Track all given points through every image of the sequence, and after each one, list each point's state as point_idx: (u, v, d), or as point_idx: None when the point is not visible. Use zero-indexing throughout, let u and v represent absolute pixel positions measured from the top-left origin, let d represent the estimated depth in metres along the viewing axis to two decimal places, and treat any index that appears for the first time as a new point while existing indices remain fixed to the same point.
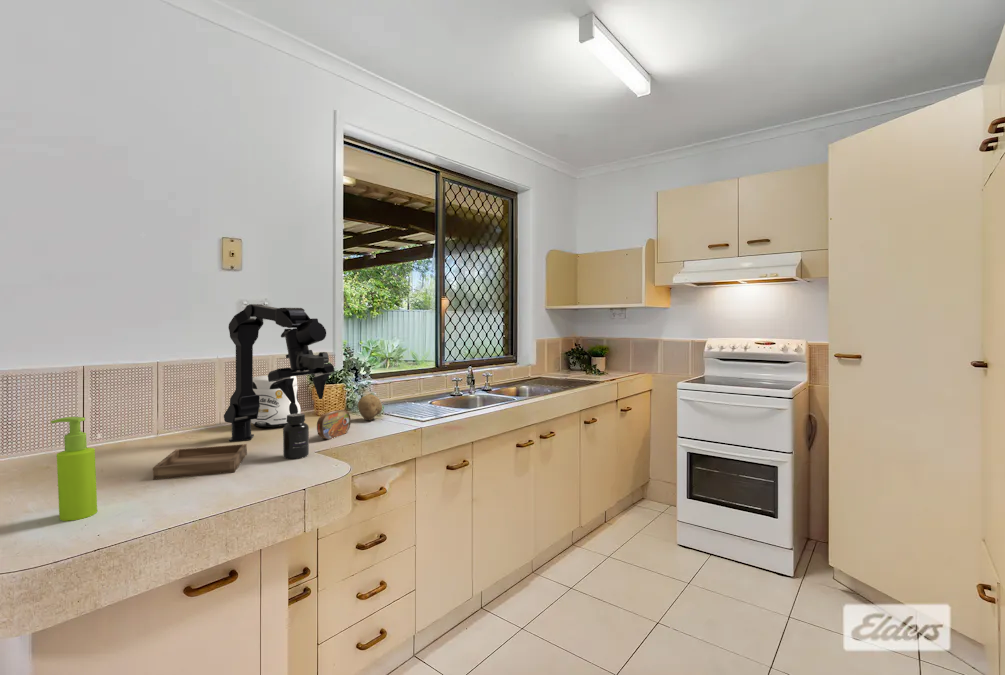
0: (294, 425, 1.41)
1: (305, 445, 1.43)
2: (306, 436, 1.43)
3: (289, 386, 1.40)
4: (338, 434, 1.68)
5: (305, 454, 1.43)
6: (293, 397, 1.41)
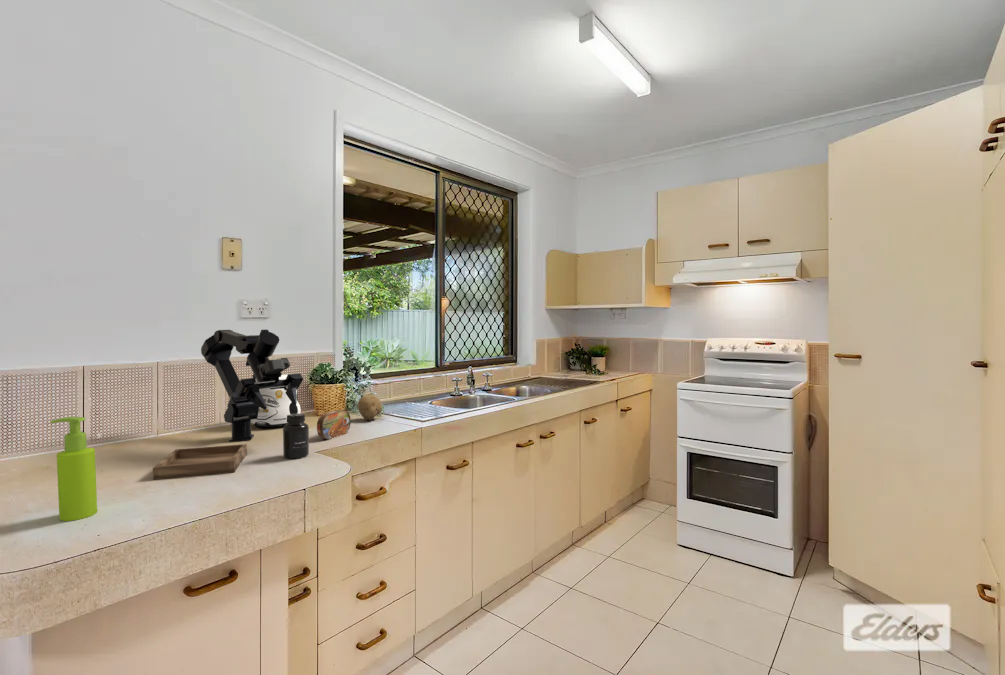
0: (294, 425, 1.41)
1: (305, 445, 1.43)
2: (306, 436, 1.43)
3: (256, 393, 1.45)
4: (338, 434, 1.68)
5: (305, 454, 1.43)
6: (263, 402, 1.45)
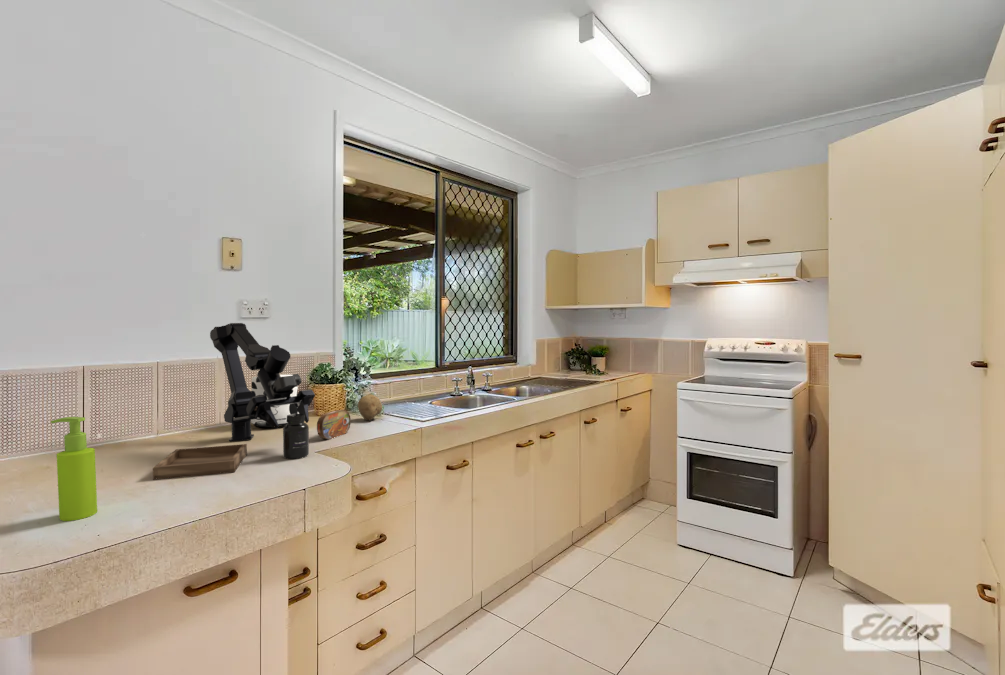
0: (294, 425, 1.41)
1: (305, 445, 1.43)
2: (306, 436, 1.43)
3: (268, 411, 1.41)
4: (338, 434, 1.68)
5: (305, 454, 1.43)
6: (275, 421, 1.41)
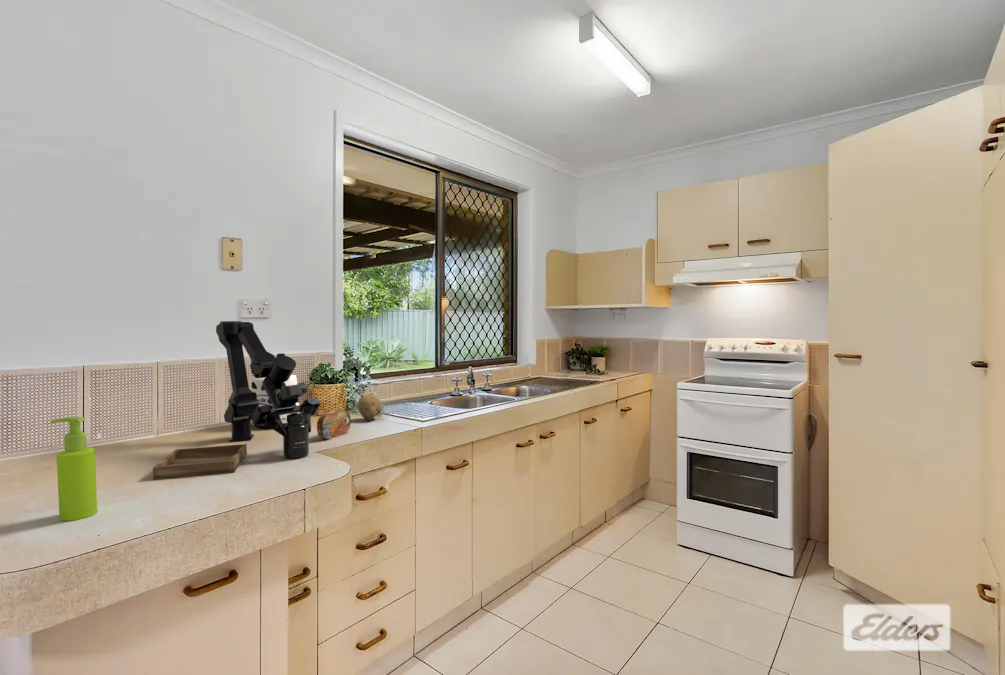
0: (294, 425, 1.41)
1: (305, 445, 1.43)
2: (306, 436, 1.43)
3: (277, 420, 1.40)
4: (338, 434, 1.68)
5: (305, 454, 1.43)
6: (284, 430, 1.40)
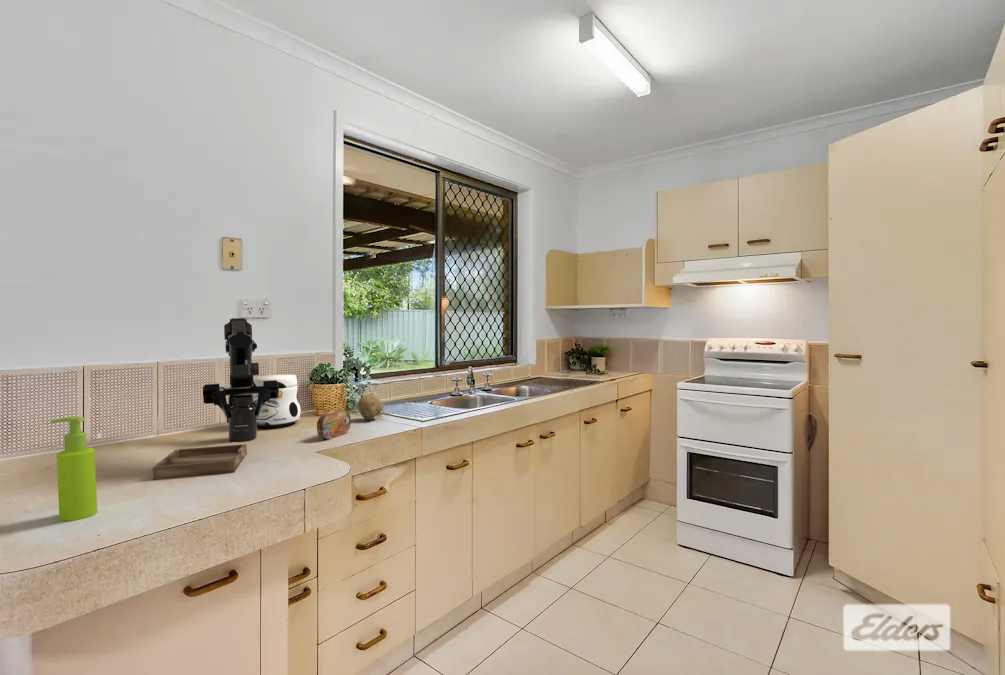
0: (236, 407, 1.34)
1: (247, 429, 1.34)
2: (249, 420, 1.35)
3: (221, 400, 1.35)
4: (338, 434, 1.68)
5: (247, 438, 1.34)
6: (226, 411, 1.34)
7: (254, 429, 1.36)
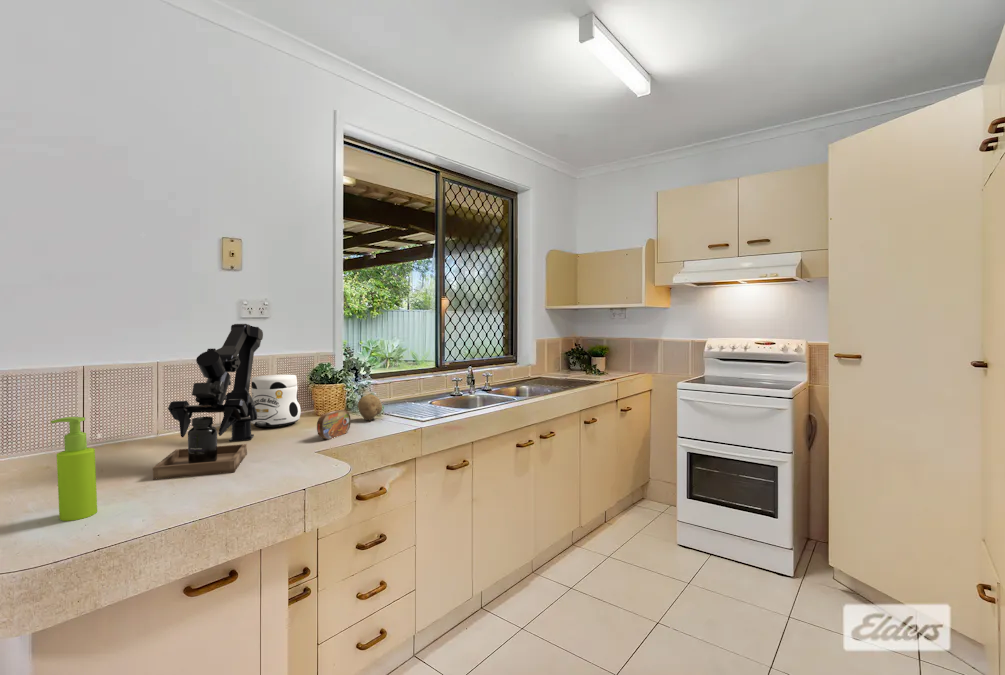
0: (193, 429, 1.33)
1: (201, 452, 1.32)
2: (203, 443, 1.32)
3: (180, 418, 1.35)
4: (338, 434, 1.68)
5: None
6: (181, 429, 1.33)
7: (211, 452, 1.34)
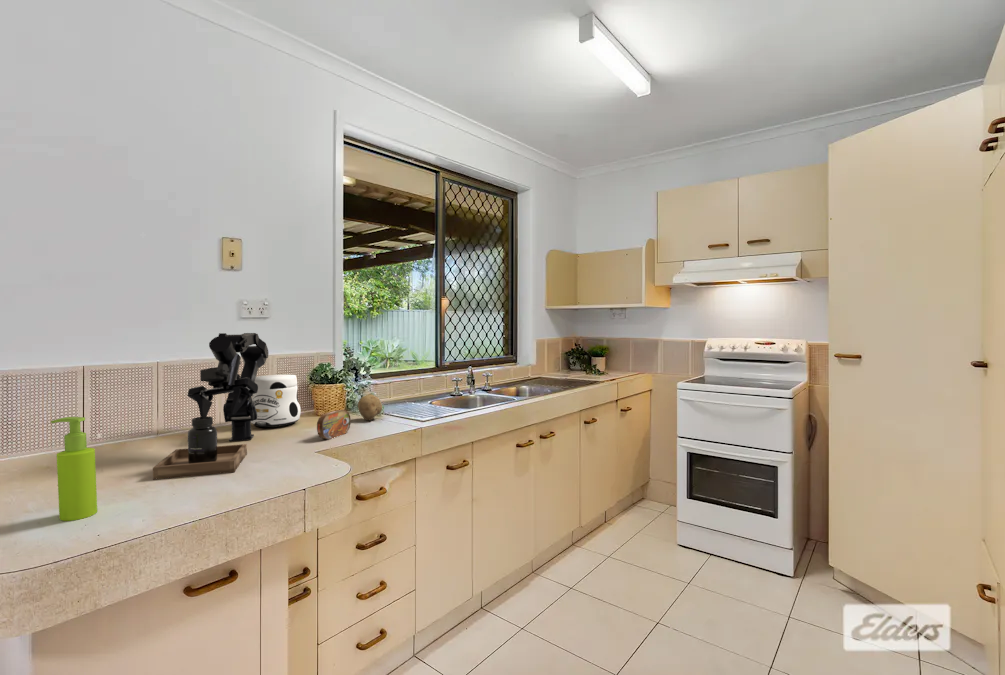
0: (193, 429, 1.33)
1: (201, 452, 1.32)
2: (203, 443, 1.32)
3: (198, 402, 1.46)
4: (338, 434, 1.68)
5: None
6: (201, 413, 1.44)
7: (211, 452, 1.34)
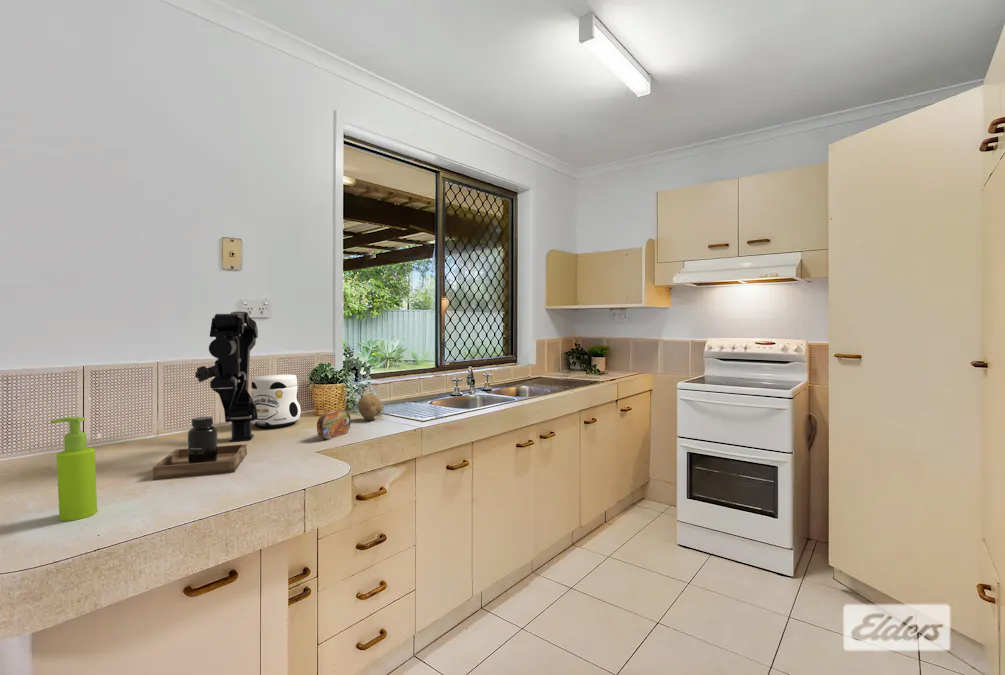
0: (193, 429, 1.33)
1: (201, 452, 1.32)
2: (203, 443, 1.32)
3: None
4: (338, 434, 1.68)
5: None
6: None
7: (211, 452, 1.34)
